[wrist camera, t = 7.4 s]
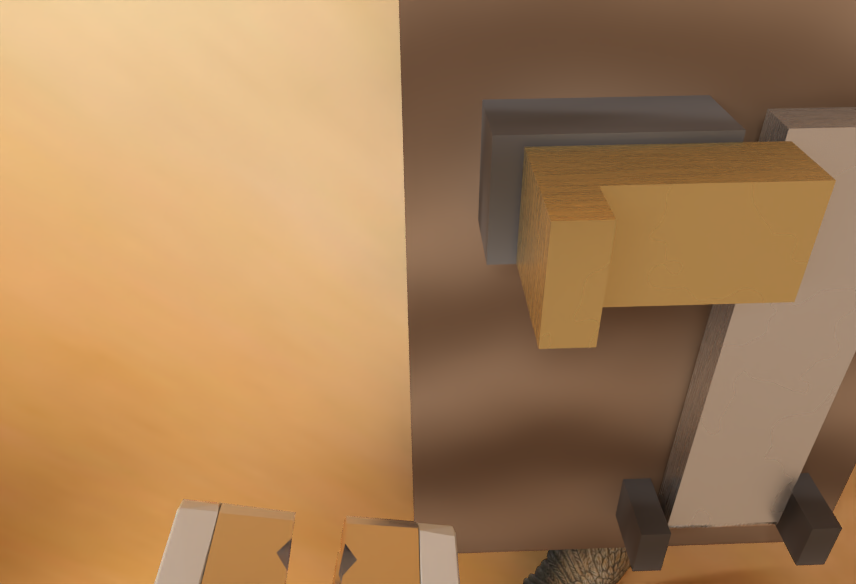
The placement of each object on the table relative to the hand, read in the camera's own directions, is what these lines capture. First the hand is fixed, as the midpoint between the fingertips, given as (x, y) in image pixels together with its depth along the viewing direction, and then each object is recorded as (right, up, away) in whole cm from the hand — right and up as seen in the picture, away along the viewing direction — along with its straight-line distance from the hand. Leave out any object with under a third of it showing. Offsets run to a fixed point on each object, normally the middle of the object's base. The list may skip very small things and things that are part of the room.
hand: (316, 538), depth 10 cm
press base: (+9, +4, +14) cm, 17 cm away
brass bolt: (+7, +5, +7) cm, 11 cm away
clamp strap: (+12, +2, +12) cm, 17 cm away
